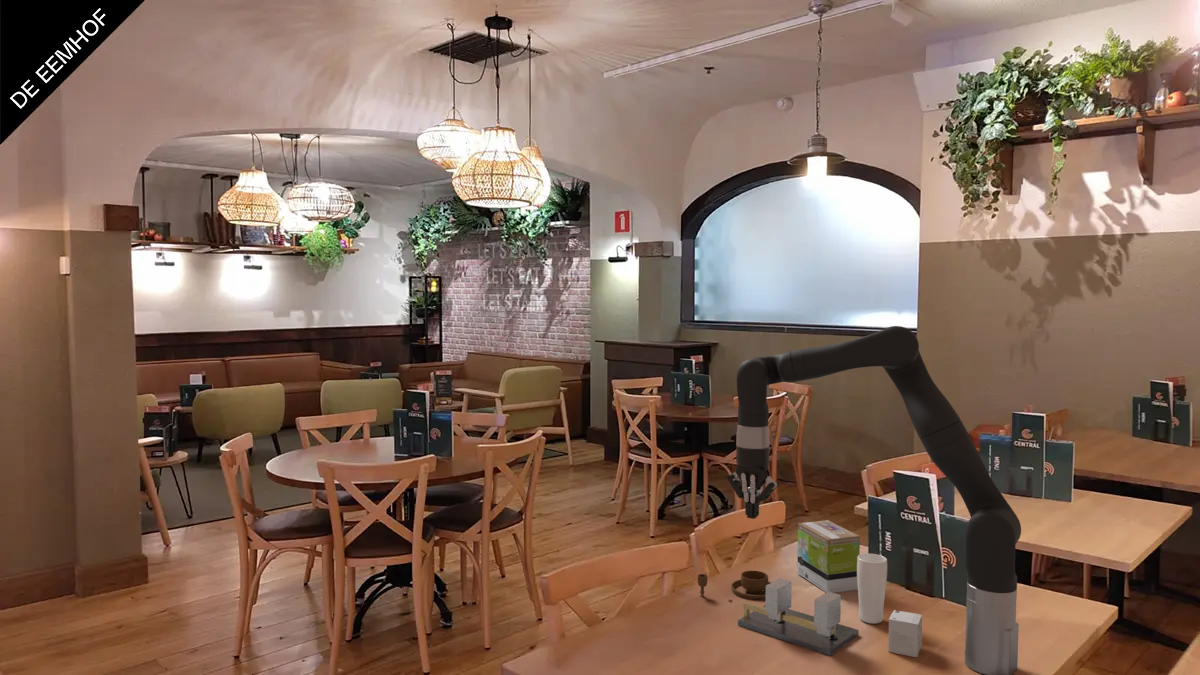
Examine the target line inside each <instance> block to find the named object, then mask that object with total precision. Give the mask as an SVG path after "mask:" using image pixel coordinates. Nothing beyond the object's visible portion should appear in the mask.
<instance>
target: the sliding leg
mask: <svg viewBox="0 0 1200 675" xmlns="http://www.w3.org/2000/svg"><path fill="white" fill-rule="evenodd" d="M792 585H793V582H792V581H791V580H788V579H784V578H778V579H775V581H772V582H771V583H770V584H768V585H766V589H765V595H766V599H765V603H764V604H765V612H768V618H771V619H774V620H777V621H782V622H786V621H784V620H781V613H786V610H787V609H790V608H792V593H793V591H792V588H793V586H792Z"/></svg>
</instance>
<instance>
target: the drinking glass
mask: <svg viewBox="0 0 1200 675" xmlns="http://www.w3.org/2000/svg"><path fill="white" fill-rule="evenodd" d="M887 579H888V559H887V558H886V557H885V556H883V555H881V554H877V553H860V555H858V557H857V585H858V589H857V595H858V596H857V598H858V618H859V620H860V621H862V622H864V623H867V624H871V625H874V624H875V625H876V624H880V623H881V622H883V618H884V617H883V616H884V606H885V605H884V604H885V596H886V590H887V588H886V586H887V581H888V580H887Z"/></svg>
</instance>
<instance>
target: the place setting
mask: <svg viewBox="0 0 1200 675" xmlns="http://www.w3.org/2000/svg"><path fill="white" fill-rule="evenodd" d="M770 583H772V582H771V581H769V575H768V574H767V573H766V572H763V571H760V570H745V571H743V572H742V573H740V579H738V580H737V579H736V580H735V581H732V583H731V585H730V588H731V591H732V593H734V594H735V595H736V596H738V597H740V598H743V599H749V600H758V601H759V600H766V594H762V592H765V591H766V585H768V584H770ZM697 584H698V586H699V587H700V592H699V593H700V595H699V597H700V598H705V595H704V594H705V587H706V586H707V584H708V574H705V573H699V574H697ZM740 586H742V588H743V589H745V590H746V591H747V593H744V592H742V591H739V590H737V589H736V588H737V587H740ZM727 602H729V603H733V600H732V599H727Z"/></svg>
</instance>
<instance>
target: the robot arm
mask: <svg viewBox="0 0 1200 675" xmlns="http://www.w3.org/2000/svg"><path fill="white" fill-rule="evenodd" d="M919 343H920V342H919V340H918V338H917V336H916V335H915V333H914V332H913V331H912V330H911V329H909V328H907V327H905V326H900V325H892V326H889V327H886V328H884V329H882V330H879V331H876V332H873V333H871V334H868V335H866V336H862V337H859V338H855V339H851V340H847V341H843V342H837V343H832V344H831V343H830V344H825V345H820V346H819V345H818V346H813V347H808V348H802V349H796V350H791V351H787V352H784V353H781V354H780V353H779V354H774V355H773V354H771V355H765V356H764V355H763V356H762V355H761V356H757V357H751V358H749V359H747V360H744V361H743V362H741V364H740V365H739V366H738V368H737V370H736V394H737V401H738V406H737V407H738V408H737V429H736V438H735V440H736V443H735V444H736V449H735V450H736V451H735V452H736V453H735V454H736V455H735V456H736V457H735V458H736V459H735V462H736V468H735V470H734V471H735V472H733V473H732V474H729V475H727V476H726V479H727V480H728V482H729V484H730V485H731V487H732V489H733V491H734V492H735V494H736V496H737V498H738V499H742V500H743V501H744V502H745V504H744V505H745V507H744V508H745V509H744V510H745V516H746V518H747V519H752V520H754V519H757V517H759V515H760V503H761V502H765V501H767V499H768V498H769V497H771V494H773V492H774V491H775V490H776V489H777V487H778V486H779V481H777V480H774V479H773V478H772V477H771V472H770V470H769V466H770V430H769V413H770V412H769V404H768V402H767V397H768V394H767V393H768V390H767V389H768V386H769V385H775V384H780V383H795V382H796V383H797V382H802V381H803V382H804V381H808V380H813V379H818V378H824V377H826V376H830V375H834V374H837V373H842V372H845V371H850V370H854V369H860V368H868V367H869V368H871V367H882V368H883V369H884V371H885V372H886V373H887V375H888V376H889V378H890V379H891V381H892V382H893V384H894V386H895V387H896V389H897V390H898V392H899V394H900V396H901V398H902V400H903V403H904V405H905V408H906V410H907V413H908V416H909V419H910V421H911V423H912V425H913V428H914V430H915V432H916V434H917V437H918V438H919V440H920V442H921V444H922V446H923V448H924V449H925V452H926V453H927V454H928V456H929V457H930V459H931V460H932V462H933V463H934V465H935V466H936V468H938V469H939V471H940V472H941V473H942V474H943V476H945V477H946V478H947V479H948V480H949V481H950V482H951V484H952V485H953V486H954V487H955V489H956V490H957V491H958V493H959V495H960V496H961V498H962V501H963V502H964V505H965V506H966V509H967V511H968V513H969V515H970V519H969V520H968V522H967V523H966V524H967V525H966V528H965V536H964V537H965V538H964V539H965V540H964V541H965V542H964V543H965V545H964V546H965V548H964V551H965V552H964V554H965V556H964V557H965V559H964V560H965V561H964V562H965V563H964V565H965V571H966V575H967V576H966V580H967V581H966V583H967V584H966V605H965V606H966V610H965V612H966V613H965V638H964V640H965V641H964V644H965V645H964V663H965V665H966V666H967V667H968V668H970V669H972V670H973V671H975V672H977V673H978V674H979V673H980V674H984V675H1013V674H1014V673H1015V671H1016V670H1017V669H1018V662H1019V661H1018V658H1019V655H1018V654H1019V632H1020V630H1019V628H1020V627H1019V625H1020V624H1019V623H1018V622H1017V598H1018V597H1017V595H1018V575H1017V574H1016V544H1017V543H1018V542H1019V540H1020V538H1021V535H1022V527H1021V522H1020V520H1019V517H1018V516H1017V514H1016V513H1015V511H1014V510H1013V508H1012V507H1011V506H1010V504H1009V502H1008V501H1007V500H1006V498H1005V497H1004V496H1003V494H1002V493H1001V491H1000V490H999V488H998V487H997V485H996V484H995V482H994V481H993V479H992V477H991V475H990V473H989V472H988V470H987V468H986V464H985V463H984V461H983V459H982V457H981V454H980V453H979V451H978V449H977V447H976V445H975V444H974V441H973V440H972V437H971V436H970V434H969V432H968V429H967V428H966V427H965V425H964V423H963V421H962V420H961V418H960V416H959V415H958V413H957V412H956V410H955V409H954V407H953V405H952V404H951V403H950V400H948V399H947V398H946V395H945V394H943V393H942V391H941V390H940V389H939V388H938V387H937V384H935V381H933V378H932V376H931V375H930V373H929V371H928V369H927V367H926V364H925V363H924V359H923V358H922V355H921V352H920V344H919ZM763 486H765V488H764V489H763Z"/></svg>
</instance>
